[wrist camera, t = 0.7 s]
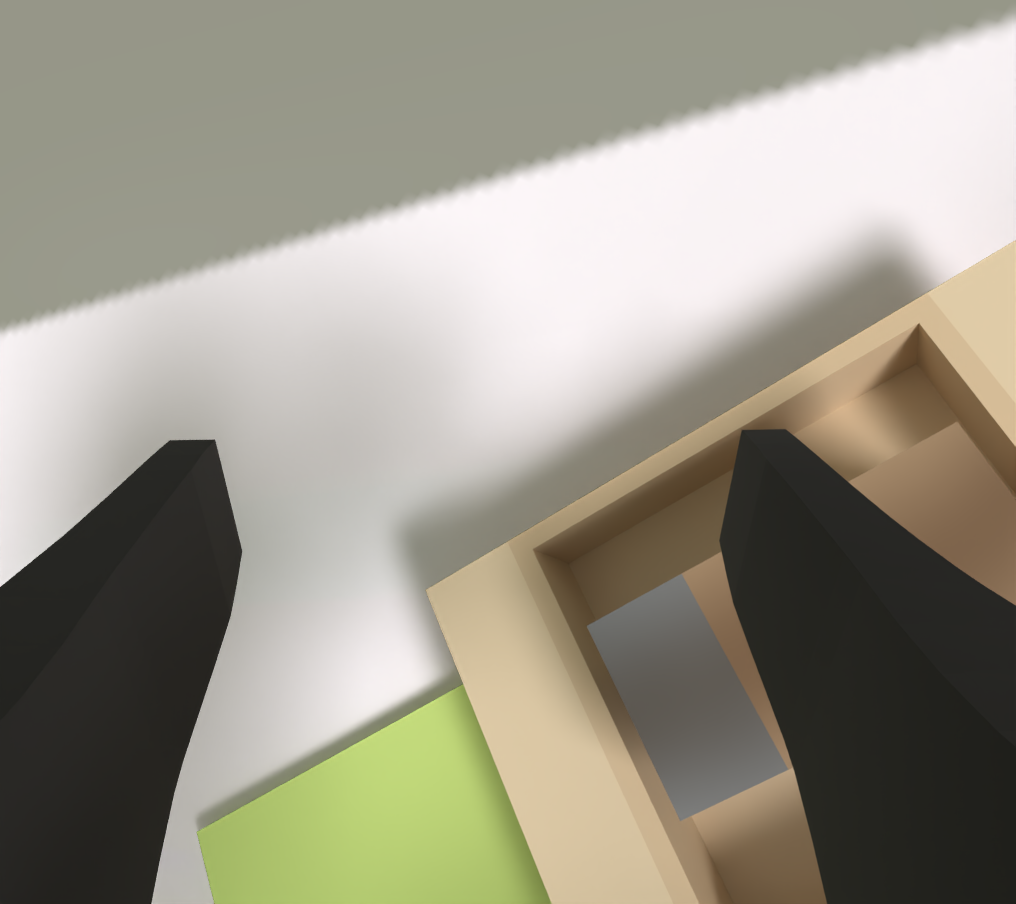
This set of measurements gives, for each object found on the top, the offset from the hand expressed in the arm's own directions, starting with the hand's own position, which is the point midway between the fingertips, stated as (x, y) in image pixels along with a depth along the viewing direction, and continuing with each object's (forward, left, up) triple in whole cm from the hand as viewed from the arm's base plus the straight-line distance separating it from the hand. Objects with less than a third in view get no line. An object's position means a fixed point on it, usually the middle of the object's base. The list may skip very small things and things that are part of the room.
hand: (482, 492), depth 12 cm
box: (-3, -3, -16) cm, 16 cm away
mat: (-4, +14, -16) cm, 21 cm away
